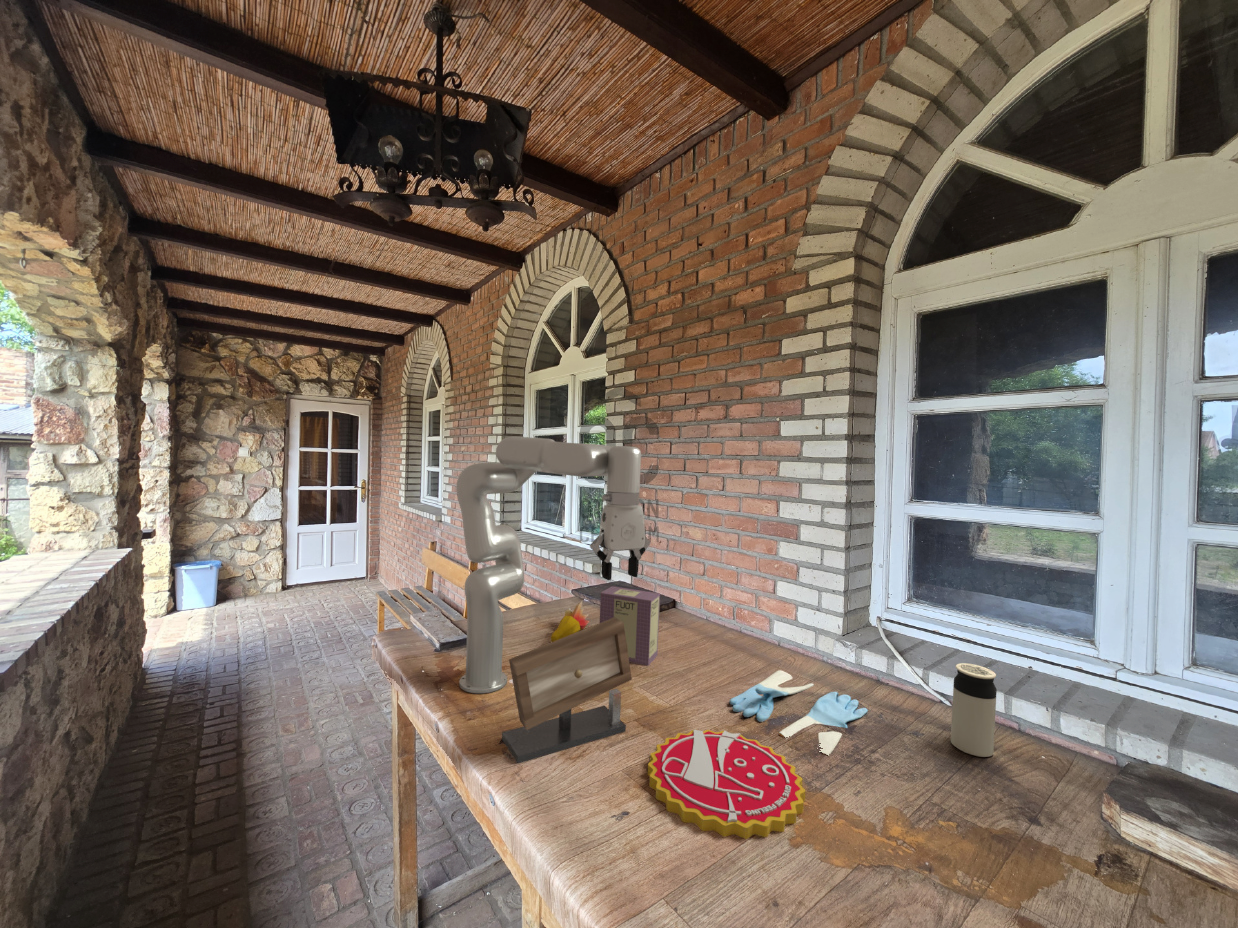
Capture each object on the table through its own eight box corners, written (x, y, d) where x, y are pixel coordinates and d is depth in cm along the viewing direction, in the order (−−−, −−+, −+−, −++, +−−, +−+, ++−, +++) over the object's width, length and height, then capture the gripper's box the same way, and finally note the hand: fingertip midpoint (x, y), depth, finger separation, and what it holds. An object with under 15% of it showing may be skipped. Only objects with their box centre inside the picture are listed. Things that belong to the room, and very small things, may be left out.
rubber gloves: (874, 708, 133) (875, 684, 133) (827, 759, 109) (829, 730, 109) (776, 674, 152) (777, 653, 152) (718, 711, 128) (719, 686, 128)
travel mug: (980, 761, 109) (985, 679, 109) (943, 742, 116) (947, 665, 116) (1000, 753, 113) (1004, 673, 113) (962, 734, 120) (966, 660, 120)
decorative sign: (658, 719, 117) (793, 739, 111) (657, 730, 117) (792, 751, 111) (637, 806, 88) (818, 840, 82) (636, 821, 88) (818, 856, 82)
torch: (550, 658, 164) (578, 625, 188) (570, 651, 162) (596, 618, 186) (539, 636, 164) (568, 605, 188) (559, 628, 162) (586, 598, 186)
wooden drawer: (519, 720, 107) (508, 659, 105) (622, 672, 120) (614, 617, 118) (527, 731, 103) (516, 667, 101) (633, 680, 116) (624, 623, 114)
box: (657, 655, 161) (659, 593, 161) (648, 665, 153) (650, 600, 152) (609, 645, 167) (611, 586, 167) (598, 655, 159) (600, 592, 159)
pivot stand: (501, 738, 111) (504, 666, 111) (604, 711, 124) (606, 647, 124) (517, 763, 102) (520, 685, 102) (625, 731, 116) (628, 662, 116)
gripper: (597, 502, 108) (594, 585, 108) (662, 500, 117) (659, 577, 117) (581, 498, 114) (578, 577, 115) (644, 497, 123) (641, 570, 124)
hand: (619, 576), depth 116 cm, fingers open, 6 cm apart
